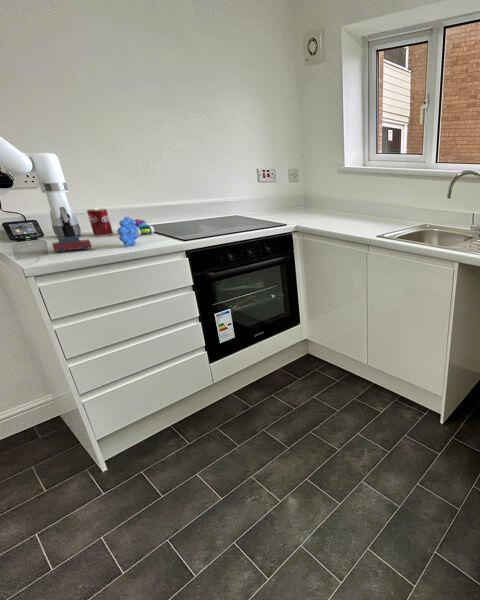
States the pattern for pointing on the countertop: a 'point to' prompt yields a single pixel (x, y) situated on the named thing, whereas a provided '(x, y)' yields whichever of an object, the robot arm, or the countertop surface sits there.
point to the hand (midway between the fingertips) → (70, 236)
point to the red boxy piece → (70, 243)
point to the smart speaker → (57, 225)
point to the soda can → (100, 222)
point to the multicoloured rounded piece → (143, 227)
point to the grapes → (128, 231)
